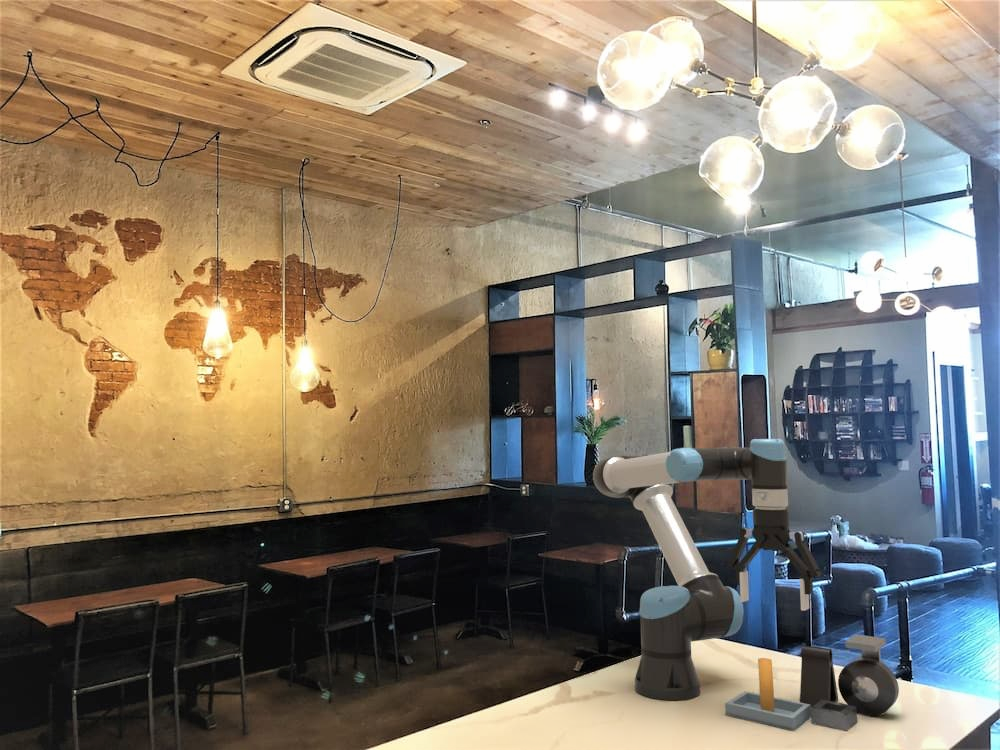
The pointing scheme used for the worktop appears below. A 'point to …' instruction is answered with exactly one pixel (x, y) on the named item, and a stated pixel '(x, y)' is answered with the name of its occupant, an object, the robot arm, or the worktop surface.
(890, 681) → the caster wheel
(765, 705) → the pin
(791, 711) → the tray
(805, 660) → the phone stand
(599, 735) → the worktop surface
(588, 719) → the worktop surface
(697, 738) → the worktop surface
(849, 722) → the pin socket
